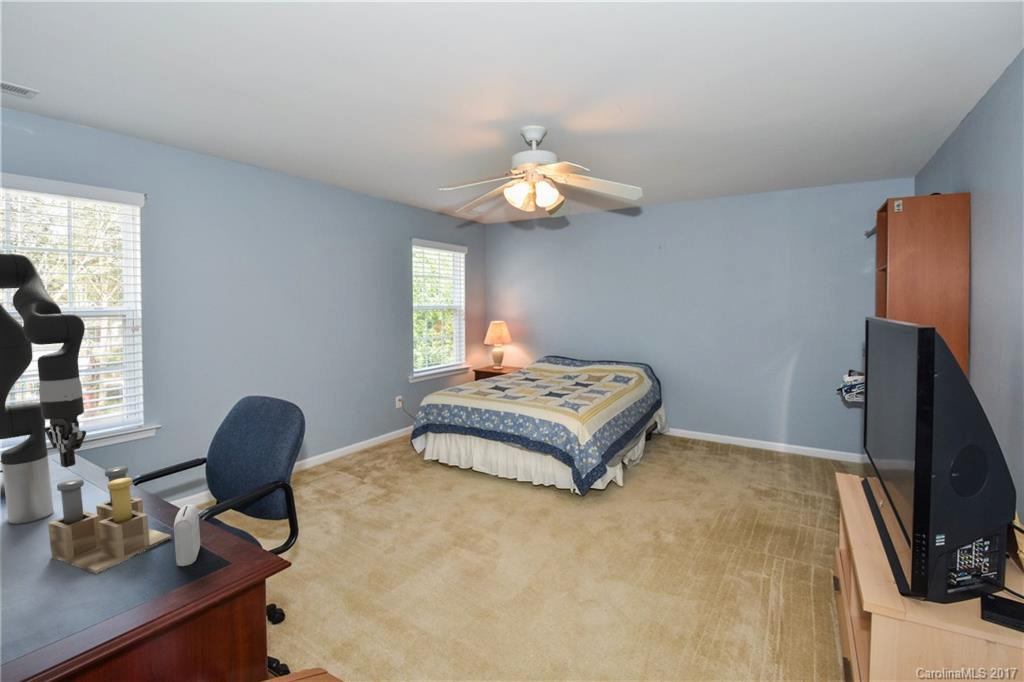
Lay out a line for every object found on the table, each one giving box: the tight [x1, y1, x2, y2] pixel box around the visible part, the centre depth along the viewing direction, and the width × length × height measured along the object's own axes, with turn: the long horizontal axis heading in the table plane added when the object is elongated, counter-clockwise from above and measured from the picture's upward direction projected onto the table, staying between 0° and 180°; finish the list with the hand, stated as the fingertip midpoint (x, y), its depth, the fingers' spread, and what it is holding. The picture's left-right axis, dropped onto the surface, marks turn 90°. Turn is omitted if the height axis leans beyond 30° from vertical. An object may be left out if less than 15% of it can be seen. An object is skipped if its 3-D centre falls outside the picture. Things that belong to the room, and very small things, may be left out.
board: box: [47, 496, 172, 575], centre depth 122 cm, size 18×17×9 cm
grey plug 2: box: [104, 465, 129, 507], centre depth 127 cm, size 5×5×10 cm
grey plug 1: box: [56, 478, 85, 525], centre depth 118 cm, size 5×5×10 cm
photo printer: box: [173, 503, 201, 567], centre depth 118 cm, size 10×4×12 cm, turn 26°
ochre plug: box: [106, 477, 134, 524], centre depth 119 cm, size 5×5×10 cm
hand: (68, 465), depth 117 cm, fingers closed
